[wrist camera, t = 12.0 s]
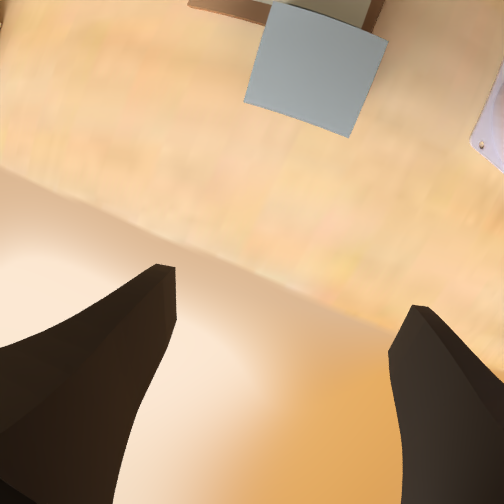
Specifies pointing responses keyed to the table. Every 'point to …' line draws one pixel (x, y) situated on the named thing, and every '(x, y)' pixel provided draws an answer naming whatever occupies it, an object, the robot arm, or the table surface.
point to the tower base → (268, 10)
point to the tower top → (333, 9)
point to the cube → (314, 68)
